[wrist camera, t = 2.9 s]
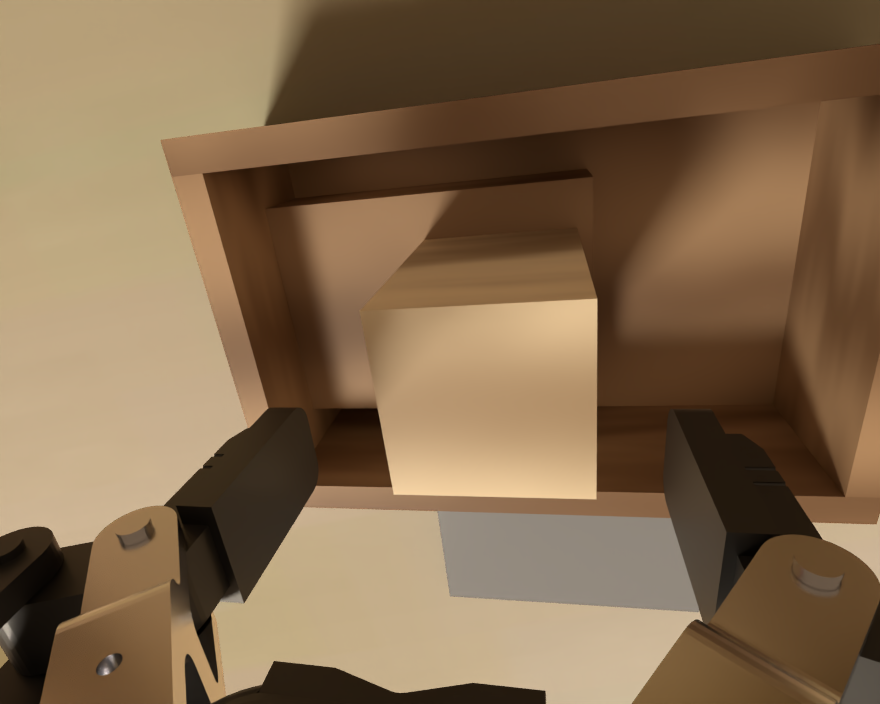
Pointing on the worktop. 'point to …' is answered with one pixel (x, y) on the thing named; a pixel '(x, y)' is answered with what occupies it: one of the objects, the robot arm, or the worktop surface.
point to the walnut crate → (607, 254)
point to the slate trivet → (566, 559)
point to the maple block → (488, 367)
